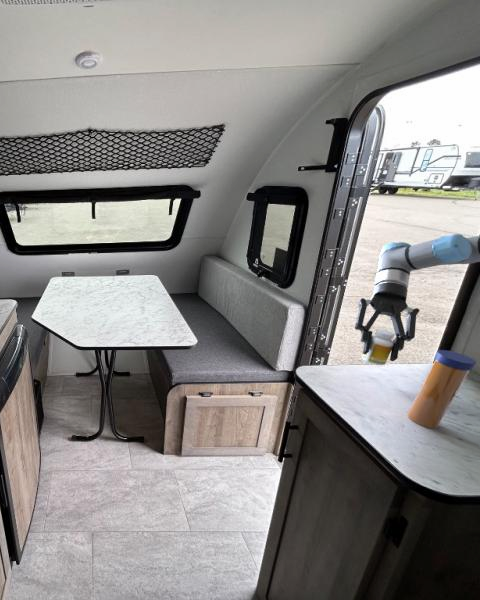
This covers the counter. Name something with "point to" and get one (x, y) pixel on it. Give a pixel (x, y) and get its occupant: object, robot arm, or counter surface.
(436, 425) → the jar
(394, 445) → the counter surface
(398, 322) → the robot arm
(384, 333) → the supplement bottle
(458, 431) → the counter surface
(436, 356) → the jar lid
